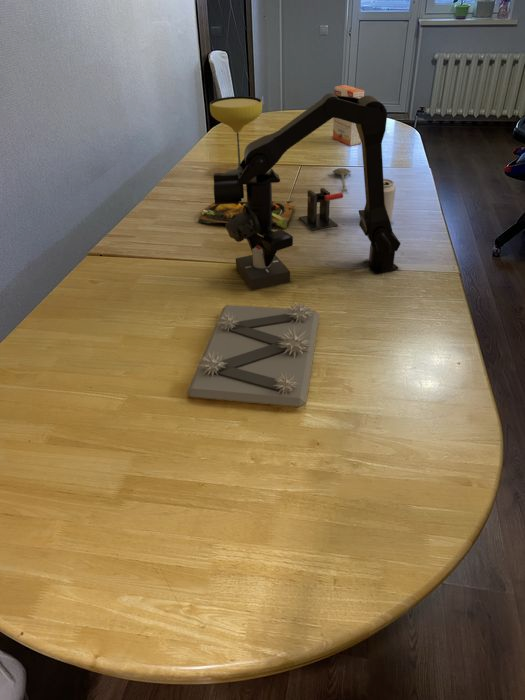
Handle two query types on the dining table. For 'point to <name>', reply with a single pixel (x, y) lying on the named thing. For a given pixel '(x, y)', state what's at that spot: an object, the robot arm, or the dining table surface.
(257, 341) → the decorative plate
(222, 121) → the cocktail glass
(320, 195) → the toast lever
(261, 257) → the knob
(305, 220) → the dark grey lever stand
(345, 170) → the soupspoon
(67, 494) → the dining table surface
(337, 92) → the cracker box
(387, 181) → the can
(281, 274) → the dial panel
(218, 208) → the prepared meal
